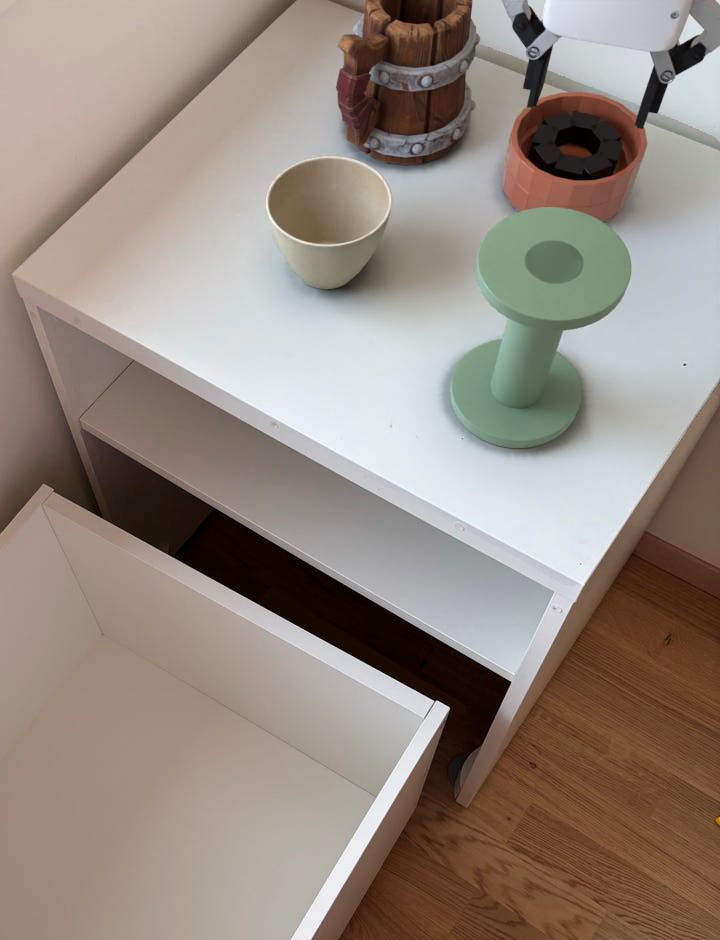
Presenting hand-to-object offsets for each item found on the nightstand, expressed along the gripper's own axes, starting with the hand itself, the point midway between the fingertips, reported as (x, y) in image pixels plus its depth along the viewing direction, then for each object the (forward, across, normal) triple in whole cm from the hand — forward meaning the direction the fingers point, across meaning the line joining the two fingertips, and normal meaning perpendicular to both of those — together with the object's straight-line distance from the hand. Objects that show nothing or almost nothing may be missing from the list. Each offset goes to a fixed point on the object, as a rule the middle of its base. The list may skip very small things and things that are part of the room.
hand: (588, 105), depth 80 cm
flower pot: (+8, +17, +15) cm, 24 cm away
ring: (+5, 0, 0) cm, 5 cm away
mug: (+8, +16, -2) cm, 18 cm away
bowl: (+8, 0, 0) cm, 8 cm away
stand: (+8, -1, +24) cm, 25 cm away
